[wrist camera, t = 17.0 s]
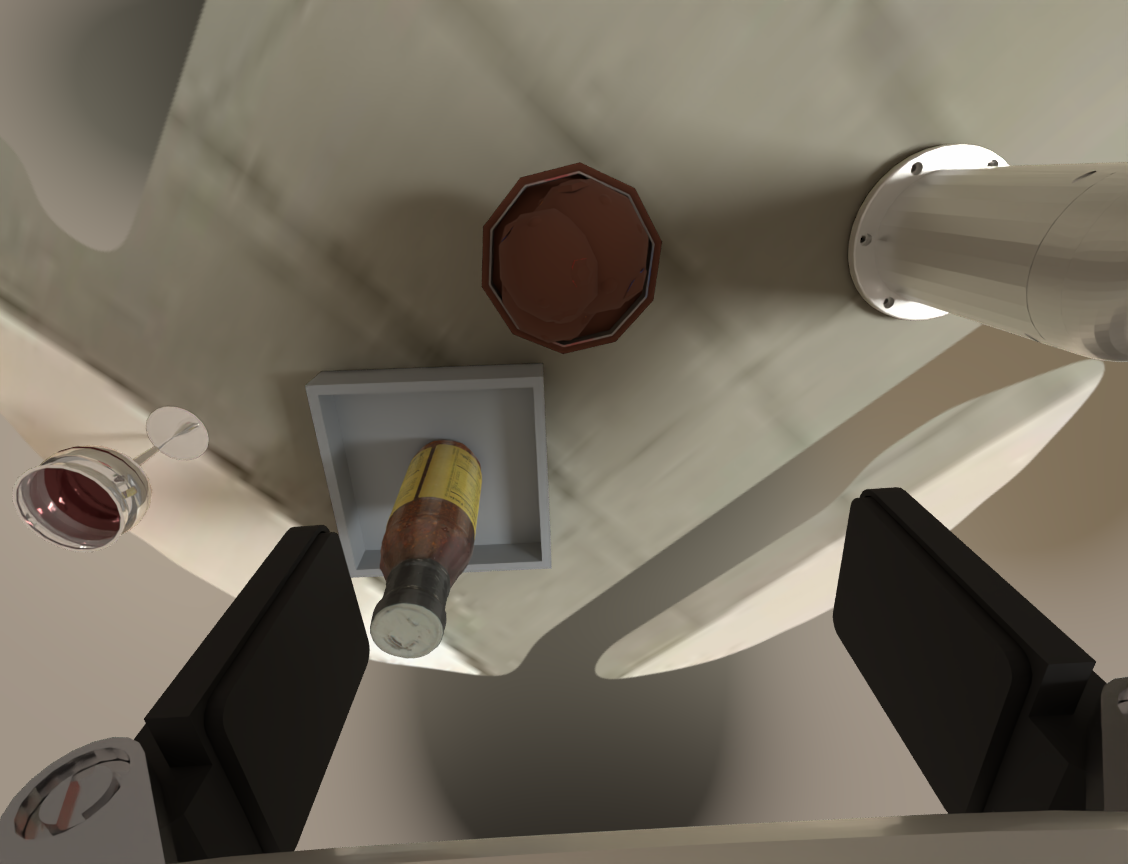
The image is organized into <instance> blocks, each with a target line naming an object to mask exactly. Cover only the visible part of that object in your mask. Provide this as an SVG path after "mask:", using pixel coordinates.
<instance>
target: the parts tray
mask: <svg viewBox="0 0 1128 864" xmlns="http://www.w3.org/2000/svg"><path fill="white" fill-rule="evenodd" d="M305 388H306V392H307V397H308V401H309V406H310V410H311V414H312V419H313V423H314V428H315V432H316V436H317V441H318V445H319V450H320V454H321V458H322V463H323V467H324V472H325V476H326V480H327V485H328V489H329V494H330V498H331V502H332V507H333V511H334V516H335V520H336V524H337V529H338V533H339V538H340V541H341V545H342V548H343V552H344V555H345V559H346V563H347V566H348V570H349V573H350V577H351V578H353V577H375V576H384V575H383V573H382V571H381V570H380V560H381V553H380V550H381V546H382V540H383V537H384V534H385V532H386V526H387V522H388V520H389V517H390V514H391V512H392V509H393V507H394V504H395V501H396V499H397V496H398V494H399V491H400V488H401V485H402V483H403V480H404V478H405V475H406V473H407V470H408V467H409V465H410V463H411V461H412V459H413V458H414V456H415V455H416V454H417V453H418V452H419V451H420V450H421V449H422V447H423V446H425V445H426V444H428V443H430V442H433V441H438V440H449V441H456V442H460V443H463V444H464V445H466V446H467V448H469V449H470V450H471V451H472V452H473V453H474V455H475V456H476V457H477V459H478V461H479V463H480V466H481V474H482V485H481V493H480V501H479V510H478V517H477V525H476V534H475V542H474V549H473V553H472V557H471V559H470V561H469V563H468V565H467V567H466V568H465V570H464V571H463V572H482V571H503V570H525V569H546V568H551V539H550V516H549V493H548V469H547V446H546V423H545V400H544V377H543V363H534V364H507V365H480V366H453V367H426V368H399V369H372V370H345V371H321V372H320V373H319V374H318V375H317V376H316V377H314V378H313V379H312V380H311V381H310V382H309V383H308V384H306V385H305Z"/></svg>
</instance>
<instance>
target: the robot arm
mask: <svg viewBox="0 0 1128 864" xmlns="http://www.w3.org/2000/svg"><path fill="white" fill-rule="evenodd" d="M911 167H912V170H911ZM861 237H863V239H862V241H861V242H860V239H861ZM848 261H849V268H850V274H851V277H852V279H853V282H854V285H855V287H856V289H857V290H858V292H859V293H860V295H861V296H862V298H863V299H864V300H865V301H866V302H867V303H869V304H870V305H871V306H872V307H873V308H875V309H877V310H878V311H880V312H882V313H884V314H886V315H889V316H892V317H895V318H898V319H904V320H910V321H914V320H928V319H933V318H937V317H941V316H944V315H946V314H949V313H951V314H954V315H957V316H960V317H963V318H967V319H970V320H973V321H976V322H979V323H982V324H985V325H988V326H991V327H994V328H997V329H1000V330H1004V331H1007V332H1010V333H1013V334H1016V335H1019V336H1022V337H1026V338H1028V339H1031V340H1034V341H1037V342H1041V343H1044V344H1047V345H1050V346H1053V347H1056V348H1059V349H1062V350H1065V351H1069V352H1072V353H1075V354H1078V355H1082V356H1085V357H1089V358H1093V359H1098V360H1105V361H1117V362H1128V162H1118V163H1085V164H1053V165H1020V166H1009V164H1008V163H1007V162H1006V161H1005V160H1004V159H1003V158H1002V157H1001V156H999V155H998V154H996V153H995V152H993V151H992V150H990V149H987V148H984V147H981V146H978V145H974V144H962V143H956V144H945V145H940V146H935V147H931V148H927V149H925V150H922V151H920V152H918V153H916V154H913V155H911V156H909V157H908V158H906V159H905V160H903V161H902V162H900V163H899V164H897V165H896V166H894V167H893V168H892V169H891V170H890V171H889V172H888V173H886V174H885V175H884V176H883V177H882V178H881V179H880V180H879V181H878V183H877V184H876V185H875V186H874V188H873V189H872V190H871V191H870V192H869V194H868V195H867V197H866V199H865V200H864V202H863V204H862V206H861V207H860V209H859V211H858V214H857V216H856V219H855V221H854V224H853V226H852V231H851V235H850V240H849V250H848ZM884 300H885V301H884ZM883 302H884V303H883ZM833 622H834V627H835V630H836V633H837V635H838V636H839V638H840V639H841V641H842V643H843V644H844V646H845V648H846V649H847V651H848V653H849V654H850V656H851V657H852V659H853V661H854V662H855V664H856V666H857V667H858V669H859V670H860V672H861V674H862V675H863V677H864V678H865V680H866V682H867V683H868V685H869V687H870V688H871V690H872V691H873V693H874V695H875V696H876V698H877V700H878V701H879V703H880V704H881V706H882V708H883V709H884V711H885V712H886V714H887V716H888V717H889V719H890V721H891V722H892V724H893V726H894V727H895V729H896V730H897V732H898V733H899V735H900V737H901V738H902V740H903V742H904V743H905V745H906V747H907V748H908V750H909V751H910V753H911V755H912V756H913V758H914V760H915V761H916V763H917V764H918V766H919V768H920V769H921V771H922V773H923V774H924V776H925V777H926V779H927V781H928V782H929V784H930V786H931V787H932V789H933V790H934V792H935V794H936V795H937V797H938V798H939V800H940V802H941V803H942V805H943V806H944V808H945V809H946V811H947V812H948V814H932V815H910V816H891V817H871V818H851V819H831V820H811V821H791V822H771V823H752V824H734V825H714V826H697V827H680V828H662V829H643V830H624V831H606V832H590V833H572V834H555V835H536V836H520V837H503V838H488V839H471V840H455V841H441V842H440V841H439V842H423V843H406V844H391V845H374V846H358V847H342V848H330V849H318V850H304V851H294V850H295V848H296V846H297V844H298V841H299V839H300V836H301V834H302V831H303V828H304V826H305V823H306V821H307V818H308V816H309V813H310V810H311V808H312V805H313V803H314V800H315V797H316V795H317V792H318V790H319V787H320V785H321V782H322V779H323V777H324V774H325V772H326V769H327V767H328V764H329V762H330V759H331V756H332V754H333V751H334V749H335V746H336V743H337V741H338V738H339V736H340V733H341V731H342V728H343V725H344V723H345V720H346V718H347V715H348V713H349V710H350V707H351V705H352V702H353V700H354V697H355V695H356V692H357V689H358V687H359V684H360V682H361V679H362V677H363V674H364V671H365V669H366V666H367V663H368V660H369V651H370V649H369V641H368V638H367V634H366V630H365V627H364V623H363V620H362V616H361V613H360V609H359V605H358V602H357V598H356V595H355V591H354V588H353V584H352V580H351V577H350V573H349V570H348V566H347V563H346V559H345V555H344V552H343V548H342V545H341V541H340V538H339V536H338V534H337V533H335V532H330V531H329V529H328V528H327V527H326V526H324V525H316V526H301V527H292V528H290V529H289V530H288V531H287V532H286V533H285V535H284V536H283V537H282V538H281V540H280V541H279V542H278V544H277V545H276V546H275V548H274V549H273V550H272V552H271V553H270V554H269V556H268V557H267V558H266V559H265V561H264V562H263V563H262V565H261V566H260V567H259V569H258V570H257V571H256V573H255V574H254V575H253V576H252V578H251V579H250V580H249V582H248V583H247V584H246V586H245V587H244V588H243V590H242V591H241V592H240V594H239V595H238V596H237V597H236V599H235V600H234V602H233V603H232V604H231V606H230V607H229V608H228V609H227V611H226V612H225V613H224V615H223V616H222V617H221V618H220V620H219V621H218V622H217V624H216V625H215V626H214V628H213V629H212V630H211V632H210V633H209V634H208V635H207V637H206V638H205V639H204V641H203V642H202V643H201V645H200V646H199V647H198V649H197V650H196V651H195V653H194V654H193V655H192V656H191V658H190V659H189V660H188V662H187V663H186V664H185V666H184V667H183V668H182V670H181V671H180V672H179V673H178V675H177V676H176V677H175V679H174V680H173V681H172V683H171V684H170V685H169V687H168V688H167V689H166V691H165V692H164V693H163V694H162V696H161V697H160V698H159V700H158V701H157V702H156V704H155V705H154V706H153V708H152V709H151V710H150V711H149V713H148V714H147V715H146V717H145V718H144V720H145V722H146V724H145V725H144V727H143V728H142V729H141V731H140V732H139V733H138V735H137V736H136V737H135V739H134V740H132V739H130V738H127V737H126V738H125V737H112V738H107V739H103V740H99V741H95V742H92V743H90V744H87V745H85V746H83V747H81V748H78V749H75V750H74V751H71V752H70V753H68V754H66V755H65V756H63V757H61V758H60V759H58V760H56V761H55V762H53V763H51V764H50V765H49V766H47V767H46V768H45V769H44V770H42V771H41V772H40V773H39V774H37V775H36V776H35V777H34V778H32V779H31V780H30V781H29V782H28V783H27V784H26V785H25V786H24V787H23V788H22V789H21V791H19V792H18V793H17V795H16V796H15V797H14V798H13V799H12V801H11V802H10V804H9V805H8V807H7V808H6V810H5V812H4V813H3V814H2V816H1V819H0V864H1128V677H1123V678H1115V679H1113V680H1111V681H1110V682H1108V683H1106V682H1105V681H1104V680H1102V679H1101V678H1100V677H1099V676H1098V675H1097V674H1096V673H1095V672H1094V671H1093V668H1094V666H1095V663H1096V661H1095V660H1094V659H1093V658H1091V657H1090V656H1089V655H1088V654H1087V653H1086V652H1085V651H1084V650H1083V649H1081V648H1080V647H1079V646H1078V645H1077V644H1076V643H1075V642H1074V641H1072V640H1071V639H1070V638H1069V637H1068V636H1067V635H1066V634H1065V633H1063V632H1062V631H1061V630H1060V629H1059V628H1058V627H1057V626H1056V625H1055V624H1053V623H1052V622H1051V621H1050V620H1049V619H1048V618H1047V617H1046V616H1045V615H1043V614H1042V613H1041V612H1040V611H1039V610H1038V609H1037V608H1036V607H1035V606H1033V605H1032V604H1031V603H1030V602H1029V601H1028V600H1027V599H1026V598H1024V597H1023V596H1022V595H1021V594H1020V593H1019V592H1018V591H1016V589H1014V588H1013V587H1012V586H1011V585H1010V584H1009V583H1008V582H1007V581H1005V580H1004V579H1003V578H1002V577H1001V576H1000V575H999V574H998V573H997V572H995V571H994V570H993V569H992V568H991V567H990V566H989V565H988V564H986V563H985V562H984V561H983V560H982V559H981V558H980V557H979V556H978V555H976V554H975V553H974V552H973V551H972V550H971V549H970V548H969V547H967V546H966V545H965V544H964V543H963V542H962V541H961V540H959V538H957V537H956V536H955V535H954V534H953V533H952V532H951V531H950V530H948V529H947V528H946V527H945V526H944V525H943V524H942V523H941V522H940V521H938V520H937V519H936V518H935V517H934V516H933V515H932V514H931V513H929V512H928V511H927V510H926V509H925V508H924V507H923V506H922V505H921V504H919V503H918V502H917V501H916V500H915V499H914V498H913V497H912V496H910V495H909V494H908V493H907V492H906V491H905V490H903V489H902V488H897V487H894V488H879V489H866V490H864V491H863V492H862V494H861V495H860V498H855V499H854V500H853V501H852V503H851V507H850V513H849V519H848V525H847V531H846V537H845V543H844V549H843V555H842V561H841V567H840V573H839V579H838V586H837V592H836V598H835V604H834V610H833Z"/></svg>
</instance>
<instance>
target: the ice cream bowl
mask: <svg viewBox="0 0 1128 864" xmlns="http://www.w3.org/2000/svg"><path fill="white" fill-rule="evenodd" d="M661 245H662V241H661V239H660V237H659V235H658V233H657V231H656V229H655V227H654V225H653V223H652V221H651V219H650V217H649V215H648V213H647V211H646V209H645V207H644V205H643V204H642V202H641V200H640V198H639V196H638V194H637V192H636V190H635V188H633V187H631V186H629V185H627V184H625V183H623V182H620V181H618V180H616V179H614V178H612V177H610V176H608V175H606V174H604V173H601V172H599V171H597V170H595V169H593V168H591V167H589V166H587V165H584V164H582V163H580V162H579V163H576V164H572V165H568V166H564V167H560V168H556V169H552V170H548V171H544V172H541V173H537V174H533V175H529V176H525V177H521V178H520V179H519V180H518V182H517V183H516V184H515V186H514V187H513V188H512V190H511V191H510V192H509V194H508V195H507V196H506V197H505V199H504V200H503V201H502V203H501V204H500V205H499V207H498V208H497V209H496V211H495V212H494V213H493V215H492V216H491V217H490V219H489V220H488V221H487V222H486V224H485V225H484V226H483V259H482V288H483V289H484V291H485V292H486V294H487V295H488V297H489V298H490V300H491V301H492V303H493V304H494V306H495V307H496V309H497V311H498V312H499V314H500V315H501V317H502V318H503V320H504V321H505V323H506V324H507V326H508V327H509V329H510V330H511V332H512V333H513V334H514V335H517V336H519V337H522V338H524V339H527V340H529V341H532V342H534V343H537V344H539V345H542V346H544V347H547V348H549V349H552V350H554V351H557V352H559V353H562V354H565V353H570V352H574V351H578V350H582V349H586V348H591V347H595V346H599V345H603V344H607V343H612V342H616V341H617V340H618V338H619V337H620V336H621V335H622V334H623V333H624V332H625V331H626V330H627V329H628V327H629V326H630V325H631V324H632V323H633V322H634V321H635V320H636V319H637V318H638V316H639V315H640V314H641V313H642V312H643V311H644V310H645V309H646V308H647V307H648V305H649V304H650V303H651V302H652V301H653V299H654V292H655V286H656V279H657V272H658V265H659V259H660V252H661Z"/></svg>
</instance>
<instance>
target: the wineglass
mask: <svg viewBox="0 0 1128 864" xmlns="http://www.w3.org/2000/svg"><path fill="white" fill-rule="evenodd" d="M146 430H147V434H148V437H149V439H150V440H151V442H152V444H153V445H154V446H153V447H152V448H150V449H149V450H147V451H145V452H144V453H142V454H140V455H139V456H137V457H135V458H134V459H132V458H130V457H128V456H126V455H125V454H123V453H121V452H119V451H117V450H115V449H111V448H108V447H104V446H91V445H86V446H76V447H72V448H68V449H65V450H61V451H59V452H57V453H55V454H53V455H52V456H50V457H49V458H48V459H46V460H45V461H44V462H42V463H41V464H40V465H39V466H38V467H34V468H31V469H28V470H27V471H26V472H24V473H23V474H22V475H21V476H19V477H18V479H17V481H16V483H15V485H14V487H13V504H14V506H15V509H16V511H17V513H18V516H19V517H20V518H21V520H22V521H23V522H24V523H25V525H26V526H27V527H28V528H29V529H30V530H31V531H32V532H34V533H35V534H36V535H37V536H39V537H40V538H41V539H43V540H44V541H47V542H49V543H51V544H53V545H55V546H57V547H59V548H63V549H67V550H71V551H75V552H94V551H98V550H102V549H106V548H108V547H109V546H110V545H112V544H113V543H115V542H116V541H117V540H118V538H119V537H120V535H122V534H124V533H126V532H128V531H129V530H131V529H132V528H133V527H135V526H136V525H138V523H139V522H140V521H141V519H142V518H143V517H144V515H145V513H146V512H147V510H148V508H149V506H150V503H151V497H152V488H151V485H150V481H149V478H148V477H147V475H146V474H145V472H144V471H143V469H142V468H141V467H140V466H141V465H142V464H144V463H145V462H146V461H147V460H149V459H150V458H151V457H152V456H154V455H155V454H156V453H157V452H159V451H160V452H162V453H164V454H165V455H167V456H169V457H172V458H175V459H179V460H191V459H195V458H198V457H199V456H200V455H202V454H203V453H204V452H205V450H206V449H207V447H208V441H209V437H208V433H207V430H206V428H205V426H204V425H203V423H202V422H201V421H200V420H199V419H198V418H197V417H196V416H195V415H194V414H192V413H190V412H189V411H187V410H185V409H181V408H178V407H162V408H159V409H157V410H155V411H154V412H152V413H151V414H150V416H149V418H148V420H147V425H146Z"/></svg>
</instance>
